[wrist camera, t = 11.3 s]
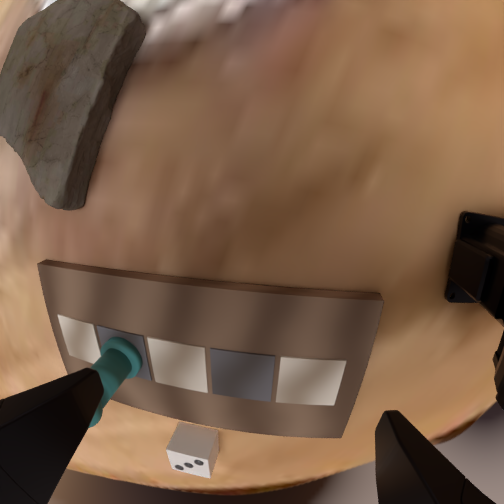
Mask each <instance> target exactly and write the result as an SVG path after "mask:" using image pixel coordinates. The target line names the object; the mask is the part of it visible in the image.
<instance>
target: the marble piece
mask: <svg viewBox="0 0 504 504" xmlns="http://www.w3.org/2000/svg"><path fill="white" fill-rule="evenodd" d="M145 34H146V33H145V30H144V25H143V23H142V21H141V19H140V16H139V15H138V13H137V12H136V11H134V10H133V9H131V8H130V7H128V6H126V5H125V4H124V3H123V2H122V1H120V0H57V1H55V2H54V3H52V4H51V5H50V6H48V7H47V8H46V9H44V10H42V11H41V12H38V13H37V14H35V15H34V16H32V17H30V18H28V19H27V20H26V21H25V22H24V23H23V24H22V25H21V26H20V27H19V28H18V31H17V33H16V36H15V38H14V40H13V43H12V45H11V47H10V50H9V53H8V55H7V58H6V60H5V63H4V65H3V68H2V71H1V74H0V136H3V137H4V138H6V142H7V143H8V144H9V145H10V146H11V147H13V149H14V151H15V152H17V153H18V155H19V156H20V157H21V159H22V161H23V163H24V165H25V167H26V170H27V172H28V174H29V176H30V179H31V182H32V184H33V185H34V187H35V189H36V191H37V192H38V193H39V196H40V198H42V199H44V200H45V202H46V203H47V204H48V205H50V206H52V207H54V208H56V209H63V210H76V209H78V208H80V207H82V206H83V205H84V201H85V197H86V192H87V188H88V183H89V180H90V177H91V173H92V171H93V168H94V165H95V162H96V158H97V154H98V150H99V147H100V144H101V142H102V139H103V136H104V133H105V131H106V128H107V126H108V123H109V121H110V119H111V113H112V108H113V104H114V102H115V100H116V96H117V94H118V92H119V89H120V87H121V86H122V83H123V81H124V78H125V76H126V73H127V70H128V69H129V67H130V65H131V63H132V61H133V59H134V57H135V55H136V53H137V51H138V50H139V48H140V46H141V44H142V42H143V40H144V37H145Z"/></svg>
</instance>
